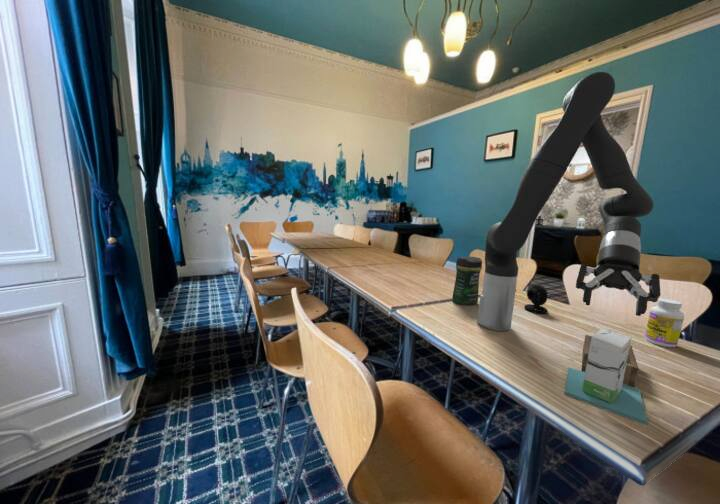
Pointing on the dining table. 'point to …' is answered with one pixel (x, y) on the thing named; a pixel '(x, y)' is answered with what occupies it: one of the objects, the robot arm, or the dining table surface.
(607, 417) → the dining table surface
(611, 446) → the dining table surface
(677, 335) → the supplement bottle
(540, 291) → the webcam
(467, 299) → the coffee jar
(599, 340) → the ink box
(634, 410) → the teal mat
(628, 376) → the walnut case
